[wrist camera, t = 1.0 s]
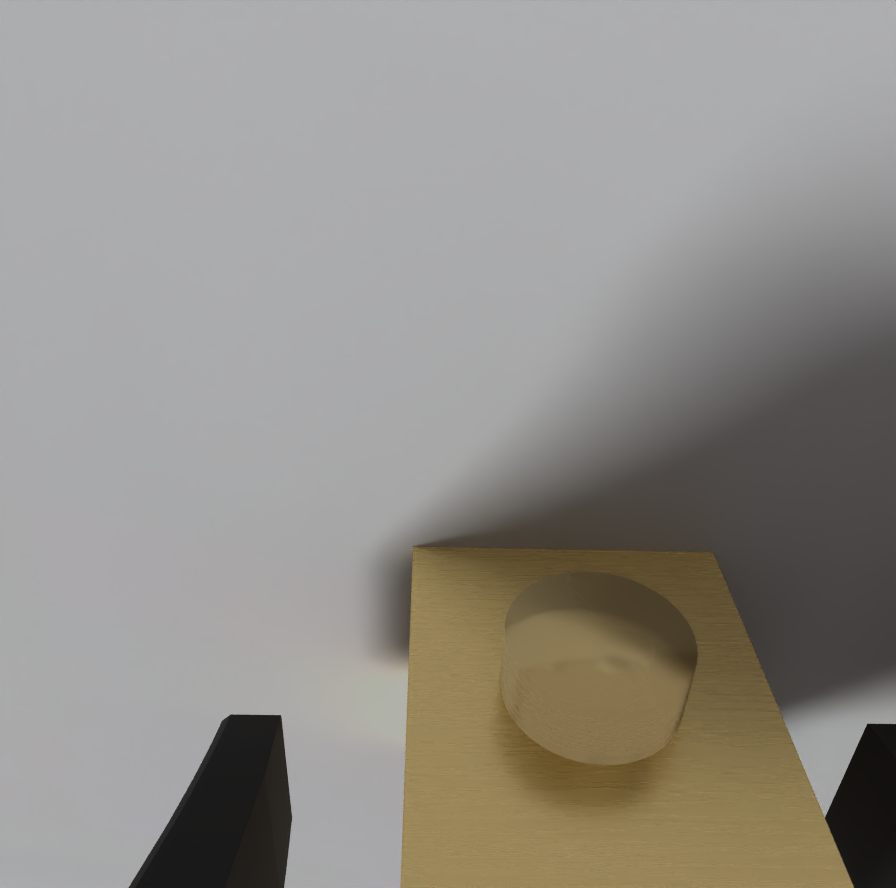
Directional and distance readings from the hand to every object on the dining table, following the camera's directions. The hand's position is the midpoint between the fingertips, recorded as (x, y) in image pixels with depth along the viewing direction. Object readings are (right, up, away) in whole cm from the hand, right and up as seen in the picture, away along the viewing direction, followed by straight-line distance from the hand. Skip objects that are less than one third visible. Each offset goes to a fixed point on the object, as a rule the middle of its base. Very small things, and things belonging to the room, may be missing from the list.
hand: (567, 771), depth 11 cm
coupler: (0, +1, +2) cm, 2 cm away
